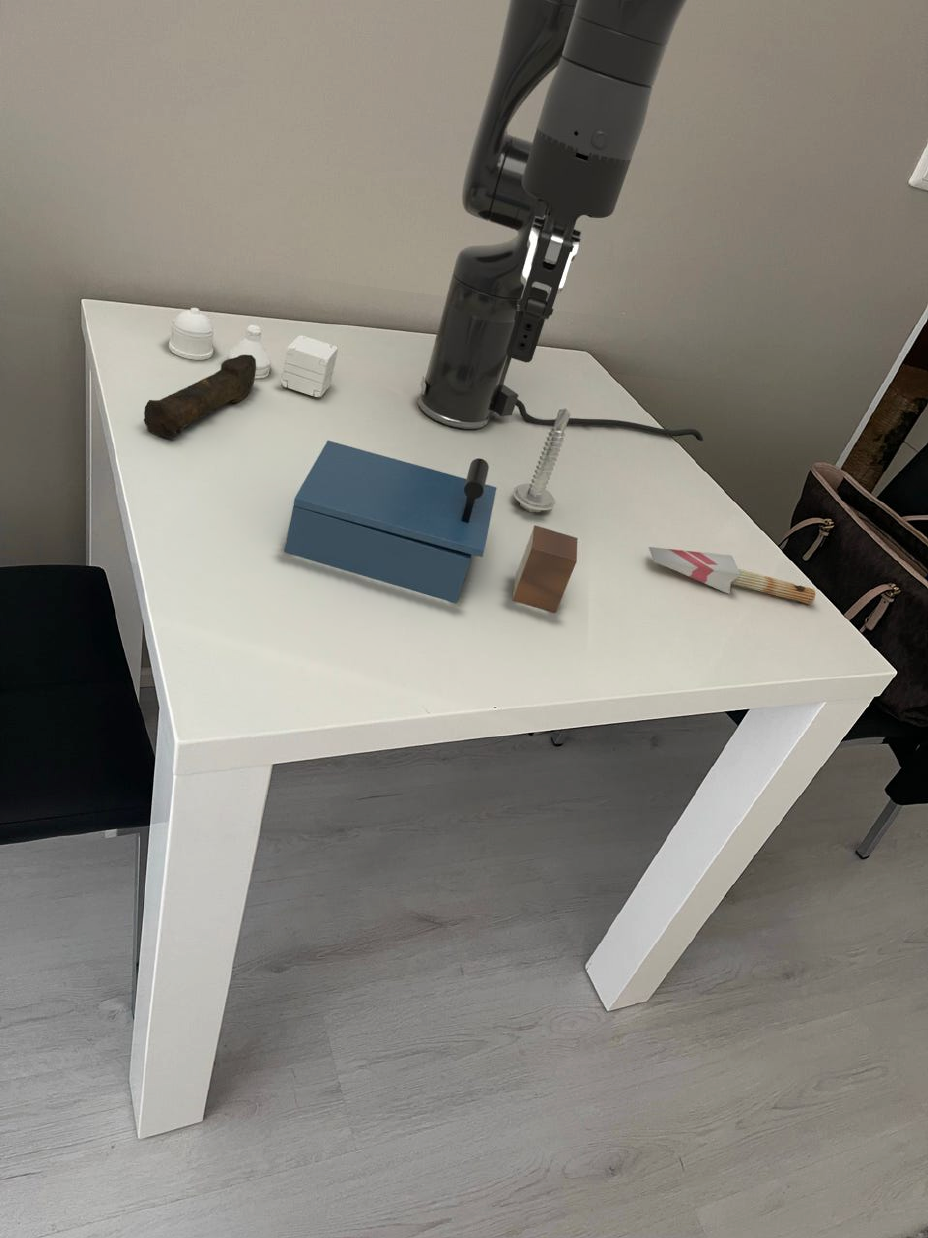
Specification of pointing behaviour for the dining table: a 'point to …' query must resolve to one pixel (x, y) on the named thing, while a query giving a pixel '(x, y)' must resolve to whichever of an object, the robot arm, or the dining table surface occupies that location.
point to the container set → (259, 352)
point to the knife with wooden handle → (727, 573)
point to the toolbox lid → (401, 497)
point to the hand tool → (201, 397)
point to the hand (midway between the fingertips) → (521, 341)
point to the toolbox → (377, 554)
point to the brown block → (545, 569)
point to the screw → (543, 470)
